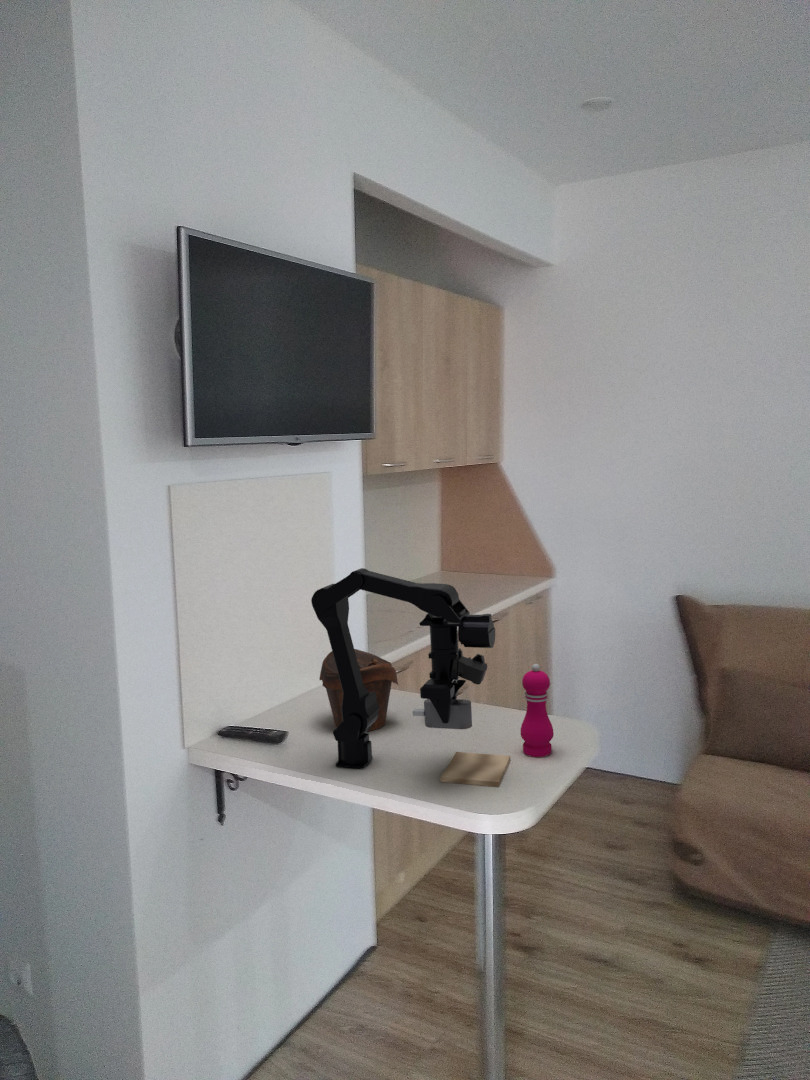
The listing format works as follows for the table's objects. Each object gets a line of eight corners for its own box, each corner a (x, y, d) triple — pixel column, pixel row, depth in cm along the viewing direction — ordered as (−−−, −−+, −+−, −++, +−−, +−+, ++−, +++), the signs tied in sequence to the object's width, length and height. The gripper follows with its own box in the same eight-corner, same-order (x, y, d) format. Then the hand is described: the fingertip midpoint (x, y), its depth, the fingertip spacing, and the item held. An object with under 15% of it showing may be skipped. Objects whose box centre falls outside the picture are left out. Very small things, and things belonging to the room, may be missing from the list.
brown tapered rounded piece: (389, 738, 192) (386, 664, 190) (310, 734, 197) (306, 661, 195) (409, 715, 209) (406, 646, 207) (335, 711, 214) (332, 644, 213)
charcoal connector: (411, 726, 170) (410, 703, 170) (417, 720, 174) (415, 697, 174) (469, 729, 167) (468, 706, 166) (474, 723, 171) (472, 699, 170)
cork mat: (440, 781, 167) (440, 777, 167) (456, 756, 180) (456, 751, 180) (498, 786, 163) (498, 782, 163) (510, 760, 177) (510, 755, 176)
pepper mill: (560, 751, 180) (559, 663, 178) (539, 760, 176) (537, 670, 173) (535, 743, 186) (533, 657, 184) (514, 752, 181) (512, 664, 179)
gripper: (473, 659, 157) (476, 737, 159) (491, 636, 175) (494, 707, 177) (417, 657, 160) (421, 734, 162) (441, 635, 178) (444, 705, 180)
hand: (448, 719), depth 170 cm, fingers closed on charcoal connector, 4 cm apart
